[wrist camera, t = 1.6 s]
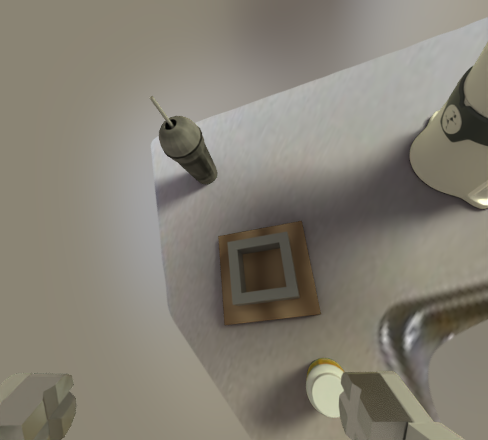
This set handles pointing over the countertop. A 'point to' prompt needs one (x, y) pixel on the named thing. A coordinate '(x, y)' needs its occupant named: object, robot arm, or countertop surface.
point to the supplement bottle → (325, 386)
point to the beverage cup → (186, 146)
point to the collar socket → (267, 275)
